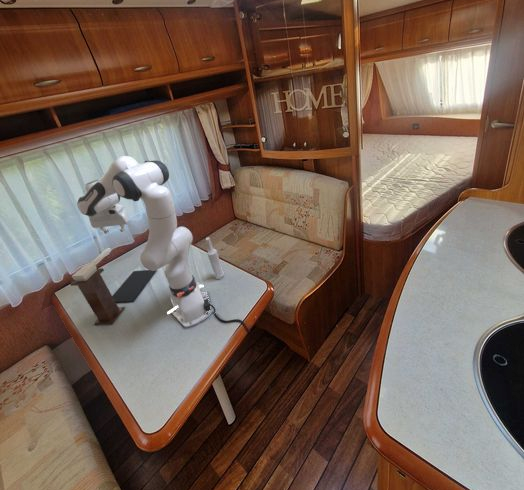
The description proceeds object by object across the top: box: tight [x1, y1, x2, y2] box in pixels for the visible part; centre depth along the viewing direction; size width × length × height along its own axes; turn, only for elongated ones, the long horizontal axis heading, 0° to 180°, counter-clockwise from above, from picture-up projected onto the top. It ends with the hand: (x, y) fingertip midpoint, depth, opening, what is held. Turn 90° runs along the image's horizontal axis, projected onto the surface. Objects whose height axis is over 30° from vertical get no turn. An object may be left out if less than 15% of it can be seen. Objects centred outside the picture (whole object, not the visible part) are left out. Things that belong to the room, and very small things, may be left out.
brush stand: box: [69, 267, 125, 325], centre depth 132 cm, size 10×10×26 cm
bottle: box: [205, 237, 225, 281], centre depth 144 cm, size 5×5×25 cm
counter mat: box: [112, 269, 158, 304], centre depth 156 cm, size 26×16×1 cm, turn 172°
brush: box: [71, 247, 112, 281], centre depth 132 cm, size 22×6×3 cm, turn 172°
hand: (114, 232), depth 148 cm, fingers open, 8 cm apart
